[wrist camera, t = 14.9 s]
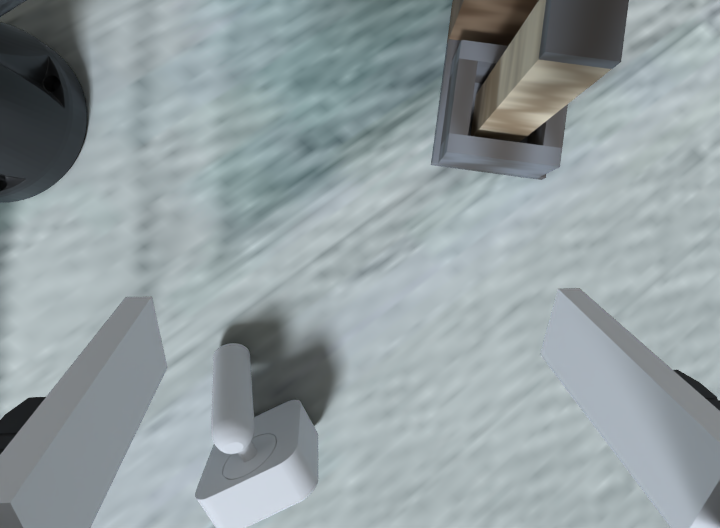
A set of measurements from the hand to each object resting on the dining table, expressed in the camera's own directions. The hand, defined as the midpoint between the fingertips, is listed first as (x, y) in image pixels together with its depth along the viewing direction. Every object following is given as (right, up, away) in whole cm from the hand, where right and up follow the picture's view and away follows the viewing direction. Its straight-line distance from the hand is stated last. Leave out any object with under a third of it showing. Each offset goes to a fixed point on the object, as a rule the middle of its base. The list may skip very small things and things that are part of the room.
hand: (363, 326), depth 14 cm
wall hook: (-9, -10, +24) cm, 27 cm away
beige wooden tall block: (+12, +15, +23) cm, 30 cm away
